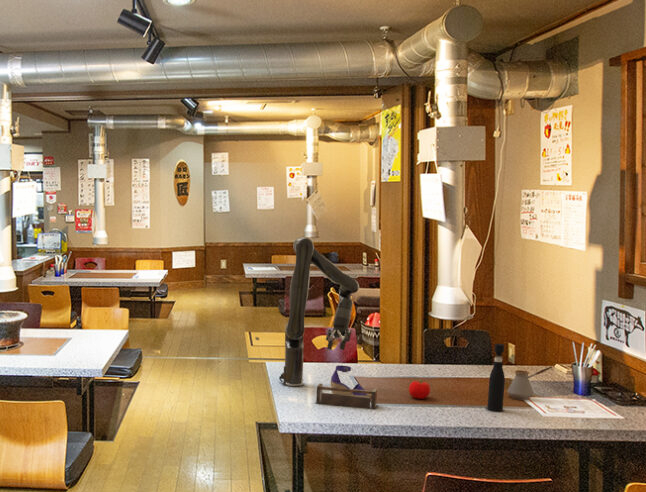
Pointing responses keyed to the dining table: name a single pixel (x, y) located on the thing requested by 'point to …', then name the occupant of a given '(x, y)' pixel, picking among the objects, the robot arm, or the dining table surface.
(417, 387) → the tomato
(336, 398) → the shoe rack
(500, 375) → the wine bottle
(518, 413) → the dining table surface
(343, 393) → the sandal
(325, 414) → the dining table surface
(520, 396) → the coffee pot
